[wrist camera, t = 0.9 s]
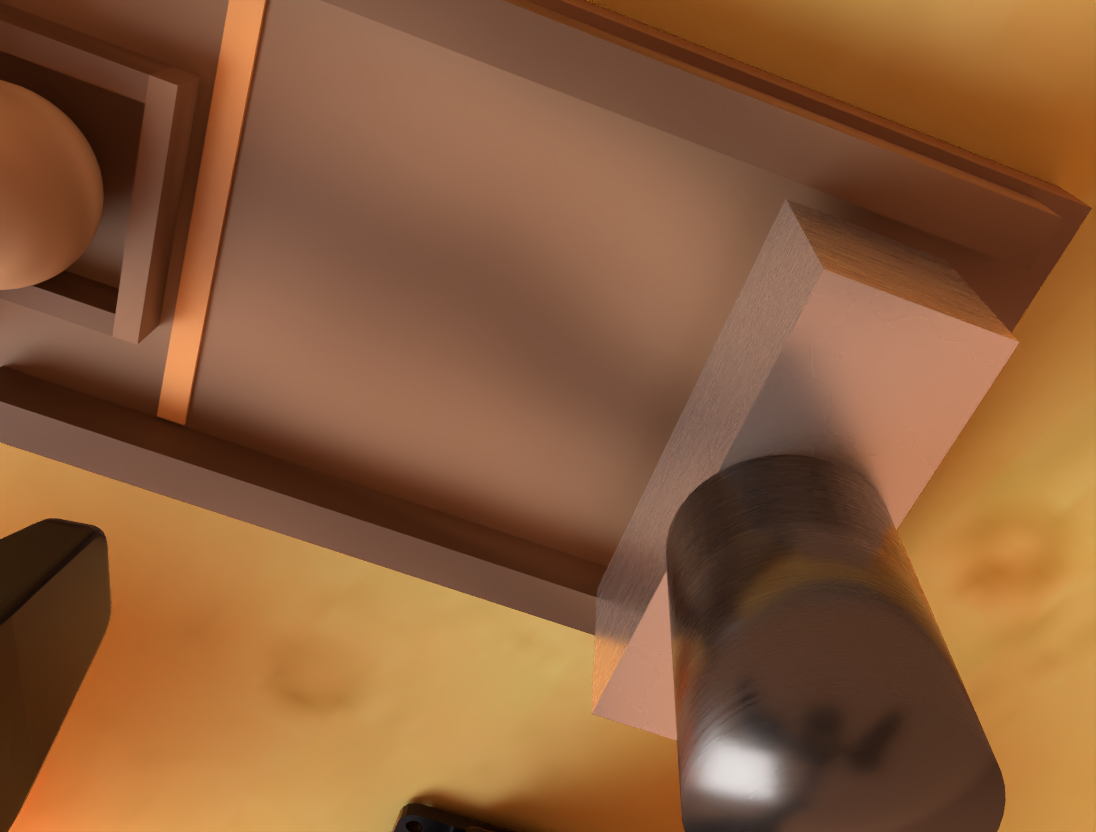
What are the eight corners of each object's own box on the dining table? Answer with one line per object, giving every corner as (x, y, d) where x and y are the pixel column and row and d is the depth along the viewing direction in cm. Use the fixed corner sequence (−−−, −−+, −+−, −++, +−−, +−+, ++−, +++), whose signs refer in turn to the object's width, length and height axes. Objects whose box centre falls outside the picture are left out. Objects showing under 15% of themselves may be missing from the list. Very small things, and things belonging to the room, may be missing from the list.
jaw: (739, 635, 21) (804, 1053, 13) (584, 584, 20) (559, 983, 13) (959, 264, 17) (1239, 564, 9) (769, 192, 16) (894, 442, 9)
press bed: (783, 630, 24) (826, 832, 19) (-183, 309, 22) (-441, 438, 17) (1058, 186, 19) (1230, 297, 13) (-198, -307, 16) (-594, -410, 11)
